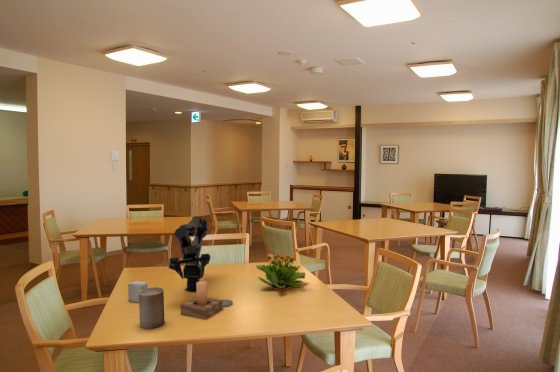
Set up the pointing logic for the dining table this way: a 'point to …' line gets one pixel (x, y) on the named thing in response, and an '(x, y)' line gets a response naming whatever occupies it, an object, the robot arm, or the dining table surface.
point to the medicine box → (135, 290)
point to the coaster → (227, 303)
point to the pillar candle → (151, 307)
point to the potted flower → (281, 273)
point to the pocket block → (201, 308)
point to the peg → (201, 293)
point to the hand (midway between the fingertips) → (193, 277)
